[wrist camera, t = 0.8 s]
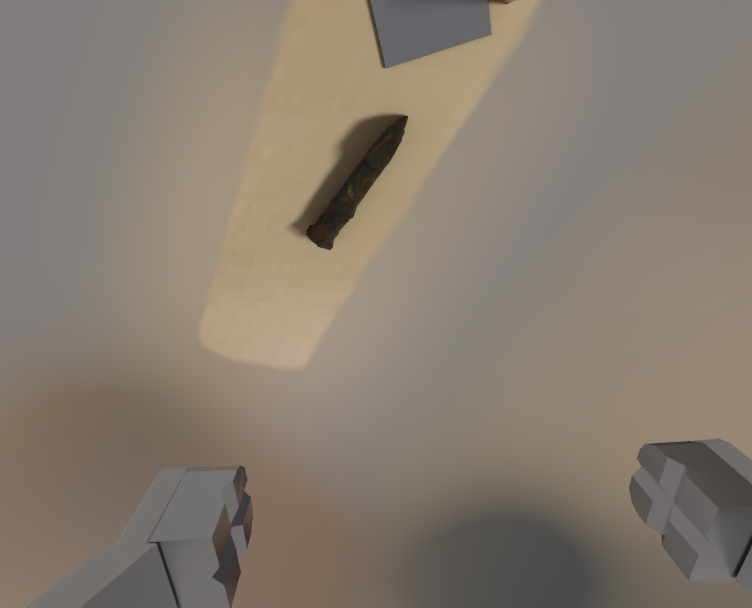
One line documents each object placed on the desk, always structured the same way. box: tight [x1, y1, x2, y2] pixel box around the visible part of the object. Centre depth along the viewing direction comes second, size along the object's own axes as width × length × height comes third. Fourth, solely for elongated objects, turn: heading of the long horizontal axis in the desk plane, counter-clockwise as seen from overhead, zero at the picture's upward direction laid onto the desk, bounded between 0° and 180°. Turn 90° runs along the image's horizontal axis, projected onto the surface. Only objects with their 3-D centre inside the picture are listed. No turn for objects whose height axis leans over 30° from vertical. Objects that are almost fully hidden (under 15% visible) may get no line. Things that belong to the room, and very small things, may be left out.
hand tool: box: [306, 116, 408, 250], centre depth 48 cm, size 19×4×5 cm, turn 141°
